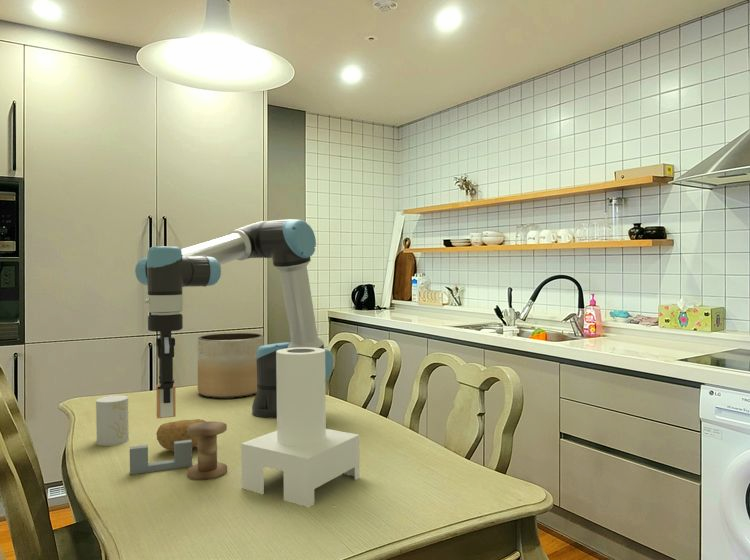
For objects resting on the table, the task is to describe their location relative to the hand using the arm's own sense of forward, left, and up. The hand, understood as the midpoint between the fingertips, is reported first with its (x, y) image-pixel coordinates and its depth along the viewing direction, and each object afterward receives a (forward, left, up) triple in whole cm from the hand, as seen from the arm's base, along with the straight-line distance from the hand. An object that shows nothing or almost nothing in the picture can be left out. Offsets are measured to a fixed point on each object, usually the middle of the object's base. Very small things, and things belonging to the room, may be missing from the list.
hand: (166, 414), depth 129 cm
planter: (-27, -86, -15) cm, 91 cm away
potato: (-5, -20, -15) cm, 25 cm away
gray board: (+1, -7, -15) cm, 16 cm away
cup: (+13, -36, -15) cm, 41 cm away
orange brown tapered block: (0, 0, 0) cm, 0 cm away
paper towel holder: (-28, +15, -15) cm, 35 cm away
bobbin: (-9, 0, -15) cm, 17 cm away
